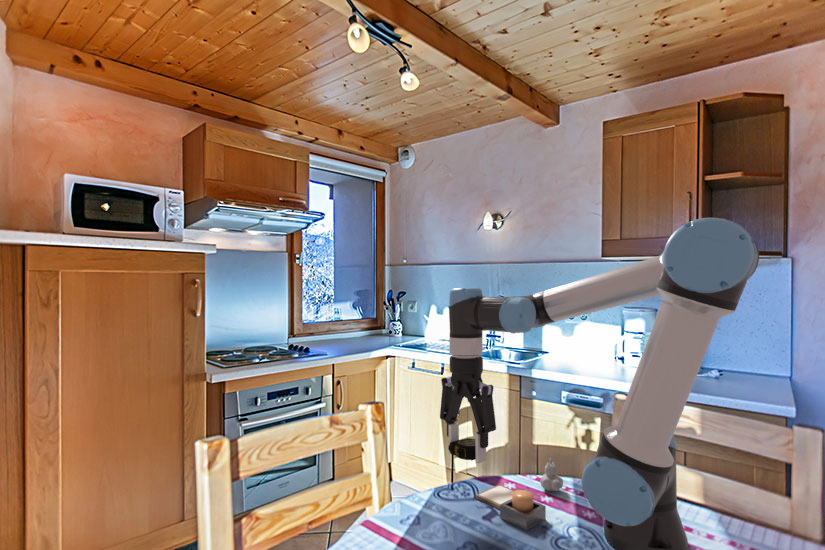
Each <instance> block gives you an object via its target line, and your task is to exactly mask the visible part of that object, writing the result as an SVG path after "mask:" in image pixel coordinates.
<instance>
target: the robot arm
mask: <svg viewBox="0 0 825 550" xmlns="http://www.w3.org/2000/svg"><path fill="white" fill-rule="evenodd" d="M759 263H760V251H759V247H758V245H757V242H756V241H755V240H754V238H753V237H752V236H751V234H750V233H749V232H748V231H747V230H746V228H744V227H743V226H742V225H740V224H738V223H736V222H735V221H732V220H728V219H725V218H720V217H719V218H718V217H701V218H697V219H694V220H691V221H688V222H686V223H685V224H683V225H681V226H679V228H677V229H676V230H675V231H674V232H673V233H672V234H671V235H670V237H669V238H668V239H667V241H666V244H665V247H664V248H663V252H662V253H661V254H660V255H658V256H654V257H651V258H647V259H644V260H641V261H638V262H635V263H632V264H628V265H624V266H620V267H618V268H615V269H612V270H608V271H606V272H602V273H598V274H594V275H591V276H588V277H585V278H582V279H578V280H575V281H573V282H568V283H566V284H563V285H559V286H557V287H556V286H555V287H552V288H550V289H546V290H544V291H543V290H542V291H539V292H536V293H532V294H529V295H521V296H484V295H483V291H482V289H481V288H480V287H456V288H455V287H454V288H452V289H451V290H450V291H449V302H448V303H449V305H448V316H449V317H448V318H449V320H448V321H449V347H448V348H449V349H448V350H449V351H448V352H449V354H450V357H449V372H450V373H451V375H450V376H447V377H442V378H441V380H440V381H441V388H442V390H441V400H440V410H439V419H440V420H443V421H445V424H446V437H447V438H448V446H449V445H450V442H453V441H458V440H460V425H459V422H458V421H459V419H457V418H458V415H459V413H460V408H461V406H462V403H463V399H464V398H465V399H467V402H468V403H469V404H470V407H471V411H472V415H473V418H474V421H475V424H476V425H475V426H476V427H477V431H475V434H474V435H475V438H474V439H475V445H476V459H475V464H478V465H479V464H481V463H483V462H487V448H488V447H489V433H490V432H494V431H496V430H497V424H496V415H495V408H494V400H493V399H494V398H493V394H494V385H493V384H486V383H484V381H483V379H482V374H483V372H484V361H483V360H484V358H483V357H482V356H481V355H482V354H483V352H484V351H483V331H487V332H488V331H489V332H503V333H510V334H521V333H522V334H523V333H524V334H526V333H530V331H532V329H533V328H540V327H544V326H546V325H549V324H552V323H553V324H554V323H556V322H560V321H563V320H564V321H565V320H568V319H572V318H576V317H579V316H583V315H584V316H585V315H587V314H591V313H595V312H599V311H603V310H608V309H611V308H612V309H613V308H615V307H619V306H623V305H627V304H630V303H635V302H639V301H644V300H647V299H650V298H651V299H652V298H655V297H658V296H660V299H661V301H662V302H661V303H660V306H659V309H658V312H657V314H656V318H655V320H654V322H653V325H652V327H651V330H650V334H649V335H648V336H649V337H648V339H647V341H646V344H645V346H644V349H643V352H642V355H641V358H640V360H639V363H638V364H637V365H638V366H637V368H636V371H635V374H634V376H633V379H632V382H631V385H630V388H629V389H628V392H627V395H626V398H625V400H624V403H623V406H622V409H621V411H620V414H619V417H618V420H617V421H616V423H613V425H611V426H607V427H606V428H604V431H603V432H602V436H601V439H600V441H599V443H598V447H597V450H596V452H595V455H594V456H593V458H592V459H591V460H589V461H588V462H587V463H586V465H585V466H584V469H583V471H582V473H581V474H582V475H581V488H582V492H583V494H584V496H585V498H586V500H587V502H588V503H589V505H590V507H591V508H592V509H593V510H594V511H595V512H596V513H597V514H598V515H599V516H600V517H602V518H603V519H604V521H603V535H604V538H605V540H606V541H607V543H608V544H610V546H612V547H613V548H614V549H616V550H689V548H688V547H689V541H688V537H687V533H686V531H685V528H684V525H683V522H682V520H681V516H680V514H679V512H678V511H679V510H678V501H677V500H678V499H677V498H678V497H677V496H678V495H677V491H678V490H677V484H678V483H677V450H678V447H677V443H676V441H677V440H676V437H675V435H674V434H675V432H676V430H677V426H678V425H679V424H678V423H679V422H680V419H681V417H682V414H683V412H684V409H685V407H686V404H687V401H688V399H689V396H690V394H691V391H692V389H693V387H694V383H695V381H696V380H697V376H698V373H699V370H700V369H701V366H702V364H703V360H704V358H705V356H706V354H707V351H708V349H709V346H710V344H711V341H712V339H713V336H714V335H715V331H716V328H717V326H718V324H719V321H720V319H722V318H724V317H726V316H729V315H731V314H733V313H735V312H736V309H737V307H738V304H739V302H740V300H741V297H742V294H743V293H744V290H745V287H746V284H747V282H748V280H749V279H750V278H751V277H752V276H753V275H754V274H755V272H756V270H757V268H758V266H759ZM448 454H450V455H452V454H451V453H450V451H449V450H448Z"/></svg>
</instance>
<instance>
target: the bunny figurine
mask: <svg viewBox="0 0 825 550" xmlns="http://www.w3.org/2000/svg"><path fill="white" fill-rule="evenodd" d="M558 473H559V471H558V467H557V464H556V463H555V461H552V459H551V458H549V461H548V462H546V464H545V466H544V473H543V474H542V475H541V478H540V484H541V487H542V488H543V489H544V490H546V491H547V492H556V491H557V492H558V491H560V489H562V488H563V486H564V480H563V478H562V477H561V476H559V475H558Z"/></svg>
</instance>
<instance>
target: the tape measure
mask: <svg viewBox="0 0 825 550" xmlns="http://www.w3.org/2000/svg"><path fill="white" fill-rule="evenodd" d="M447 447H448V452H449V451H450V453H451V454H450V453H449V454H450V455H452V456H455V457H457V458H459V459H460V460H466V461H476V445H475V438H471V437H469V438H467V437H466V438H462V439H459V440H458V441H453V442H450V445H449V444H448V446H447Z"/></svg>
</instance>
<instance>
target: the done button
mask: <svg viewBox="0 0 825 550" xmlns="http://www.w3.org/2000/svg"><path fill="white" fill-rule="evenodd" d="M533 501H534V494H533V493H532V492H530V491H528V490H525V489H523V490H522V489H517V490H514V492H513V493H512V508H514V509H516V510H518V511H521V512H523V513H525V514H526V513H528V512H530V511H532V510H533Z"/></svg>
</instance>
